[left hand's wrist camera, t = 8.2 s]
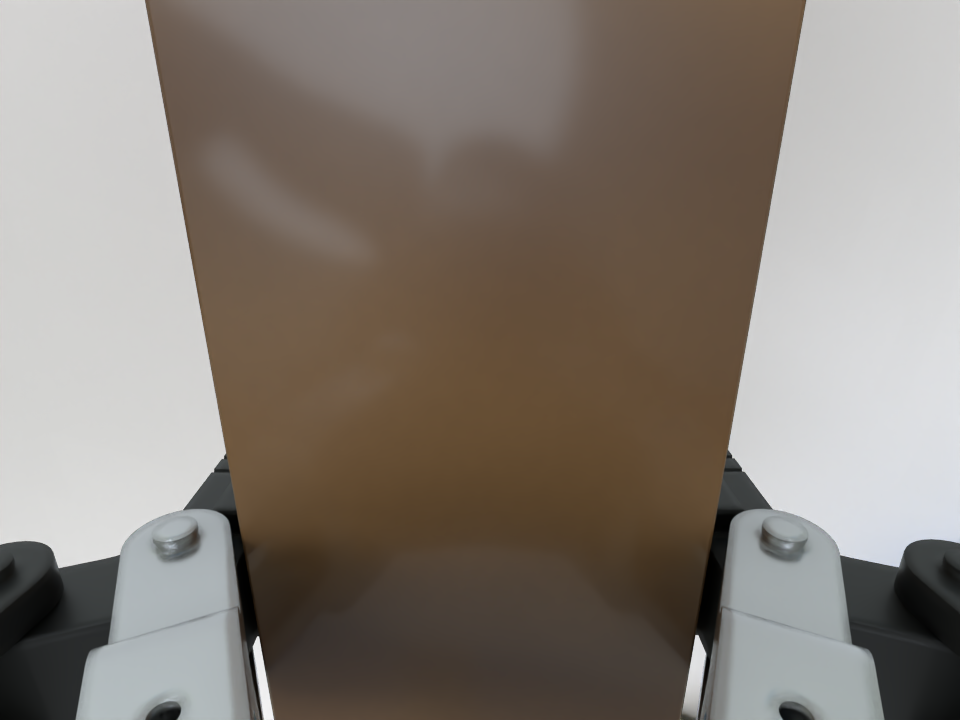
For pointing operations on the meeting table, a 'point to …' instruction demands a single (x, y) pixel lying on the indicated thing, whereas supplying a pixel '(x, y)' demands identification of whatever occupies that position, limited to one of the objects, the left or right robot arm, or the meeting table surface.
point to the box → (476, 331)
